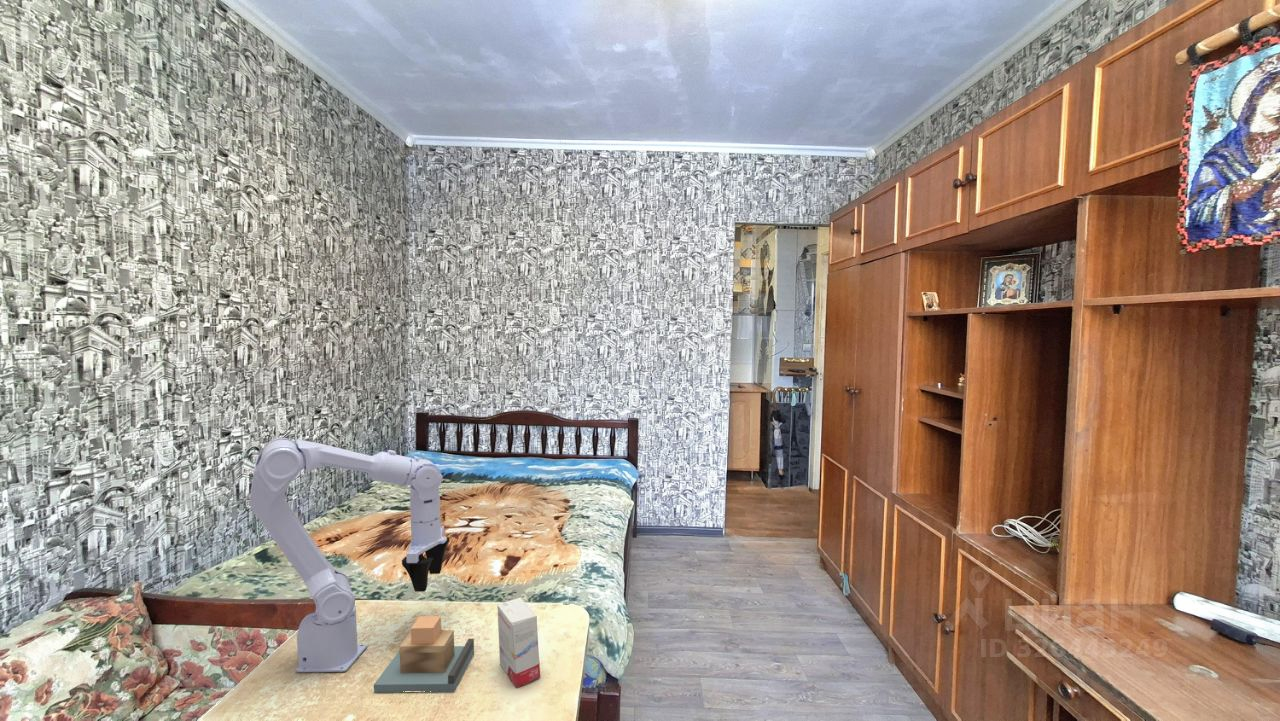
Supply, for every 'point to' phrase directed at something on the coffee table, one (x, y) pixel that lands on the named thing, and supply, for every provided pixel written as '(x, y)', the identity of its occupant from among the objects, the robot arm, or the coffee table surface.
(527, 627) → the ink box
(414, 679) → the dock
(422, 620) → the carton
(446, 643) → the tan rectangular block
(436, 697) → the coffee table surface
